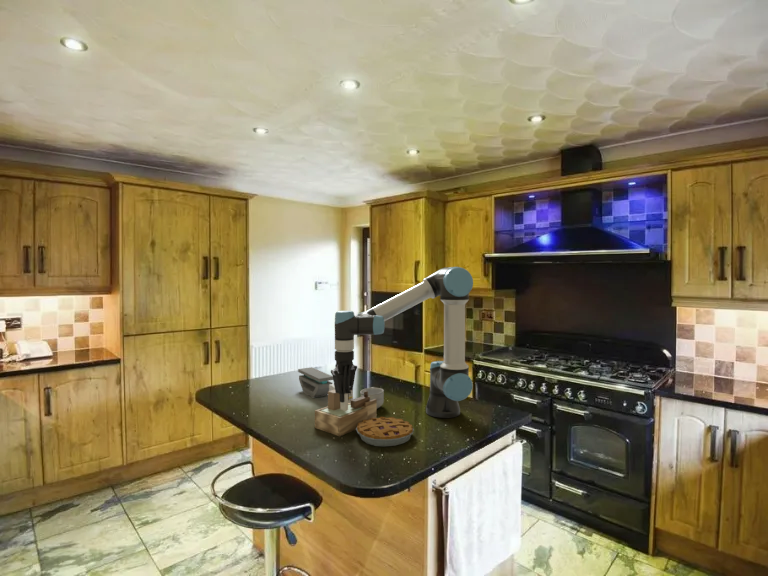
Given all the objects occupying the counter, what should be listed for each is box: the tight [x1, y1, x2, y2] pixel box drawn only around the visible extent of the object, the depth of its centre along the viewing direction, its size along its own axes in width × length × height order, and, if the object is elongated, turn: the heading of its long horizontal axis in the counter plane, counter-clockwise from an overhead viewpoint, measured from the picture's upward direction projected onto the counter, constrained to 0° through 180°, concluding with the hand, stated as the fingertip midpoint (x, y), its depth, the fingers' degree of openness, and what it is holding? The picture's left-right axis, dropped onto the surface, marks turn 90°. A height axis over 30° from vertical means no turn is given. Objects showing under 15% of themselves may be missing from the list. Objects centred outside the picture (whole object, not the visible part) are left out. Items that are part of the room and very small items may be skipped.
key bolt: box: [351, 391, 370, 409], centre depth 174 cm, size 2×9×5 cm, turn 141°
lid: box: [321, 390, 362, 417], centre depth 170 cm, size 11×13×8 cm
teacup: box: [359, 386, 385, 409], centre depth 197 cm, size 14×11×8 cm
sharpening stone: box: [297, 366, 333, 399], centre depth 217 cm, size 25×8×11 cm, turn 35°
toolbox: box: [314, 399, 378, 437], centre depth 173 cm, size 14×23×9 cm, turn 142°
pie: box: [355, 416, 415, 447], centre depth 160 cm, size 22×22×5 cm
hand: (344, 409), depth 166 cm, fingers closed
